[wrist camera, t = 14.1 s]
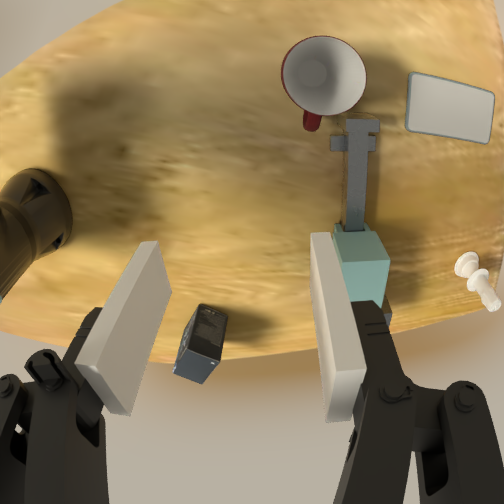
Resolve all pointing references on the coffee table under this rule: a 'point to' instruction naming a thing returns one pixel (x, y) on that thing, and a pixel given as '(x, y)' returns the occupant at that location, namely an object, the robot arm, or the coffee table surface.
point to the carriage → (362, 263)
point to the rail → (354, 164)
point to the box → (201, 344)
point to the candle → (477, 279)
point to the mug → (323, 78)
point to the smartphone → (448, 108)
